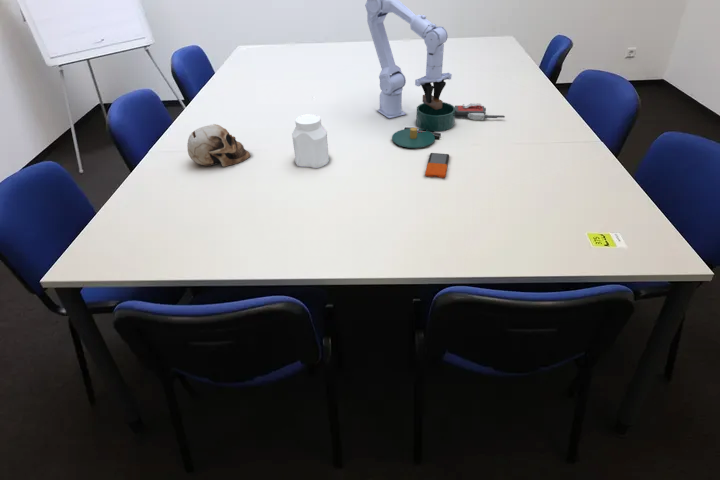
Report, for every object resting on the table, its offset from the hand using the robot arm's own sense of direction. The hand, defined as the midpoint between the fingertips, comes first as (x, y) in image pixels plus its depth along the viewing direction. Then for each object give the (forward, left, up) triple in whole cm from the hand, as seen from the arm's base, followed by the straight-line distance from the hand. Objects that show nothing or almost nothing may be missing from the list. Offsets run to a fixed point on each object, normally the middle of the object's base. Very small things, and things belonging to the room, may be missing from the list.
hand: (432, 101), depth 177 cm
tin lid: (+8, -13, -8) cm, 18 cm away
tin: (0, +2, -9) cm, 9 cm away
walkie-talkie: (+3, +20, -9) cm, 22 cm away
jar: (+4, -51, -9) cm, 52 cm away
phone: (+29, -17, -9) cm, 35 cm away
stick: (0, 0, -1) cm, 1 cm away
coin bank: (-13, -78, -9) cm, 80 cm away
